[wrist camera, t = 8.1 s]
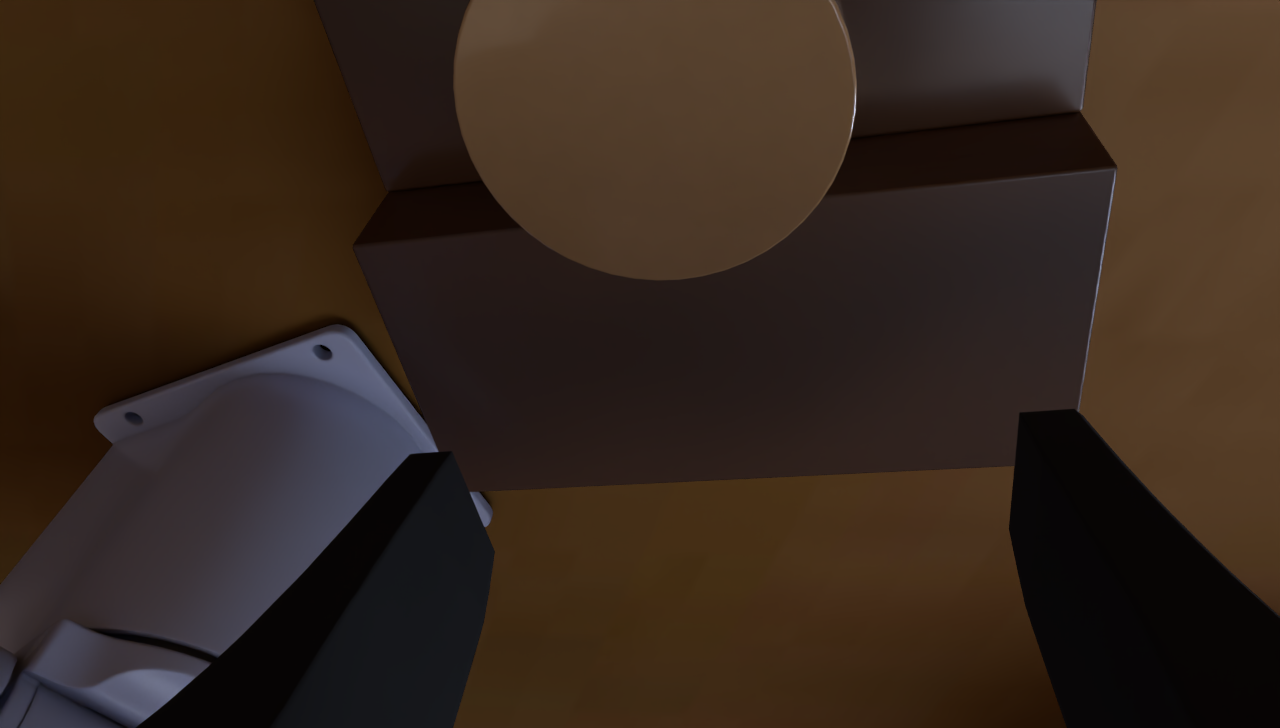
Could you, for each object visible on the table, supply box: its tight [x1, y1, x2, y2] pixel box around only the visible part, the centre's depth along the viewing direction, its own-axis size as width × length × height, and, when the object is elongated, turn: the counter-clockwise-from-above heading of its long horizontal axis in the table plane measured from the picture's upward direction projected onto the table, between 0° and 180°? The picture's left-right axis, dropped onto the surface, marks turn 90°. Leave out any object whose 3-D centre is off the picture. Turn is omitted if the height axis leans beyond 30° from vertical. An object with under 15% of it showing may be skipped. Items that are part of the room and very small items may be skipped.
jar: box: [453, 0, 857, 280], centre depth 13 cm, size 5×5×6 cm
